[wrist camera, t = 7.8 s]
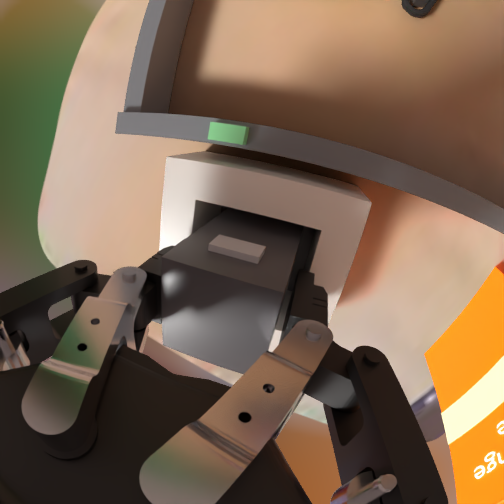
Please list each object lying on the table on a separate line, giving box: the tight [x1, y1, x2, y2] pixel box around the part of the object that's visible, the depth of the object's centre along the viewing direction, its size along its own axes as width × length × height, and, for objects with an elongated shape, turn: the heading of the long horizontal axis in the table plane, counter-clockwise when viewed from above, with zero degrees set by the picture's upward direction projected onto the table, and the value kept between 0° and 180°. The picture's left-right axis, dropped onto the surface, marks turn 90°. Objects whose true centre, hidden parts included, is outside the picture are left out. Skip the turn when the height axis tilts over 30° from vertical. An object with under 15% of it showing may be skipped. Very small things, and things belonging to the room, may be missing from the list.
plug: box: [161, 207, 304, 374], centre depth 13 cm, size 4×4×8 cm
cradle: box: [115, 0, 504, 234], centre depth 9 cm, size 33×11×4 cm, turn 80°
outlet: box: [159, 151, 372, 352], centre depth 15 cm, size 9×9×4 cm
